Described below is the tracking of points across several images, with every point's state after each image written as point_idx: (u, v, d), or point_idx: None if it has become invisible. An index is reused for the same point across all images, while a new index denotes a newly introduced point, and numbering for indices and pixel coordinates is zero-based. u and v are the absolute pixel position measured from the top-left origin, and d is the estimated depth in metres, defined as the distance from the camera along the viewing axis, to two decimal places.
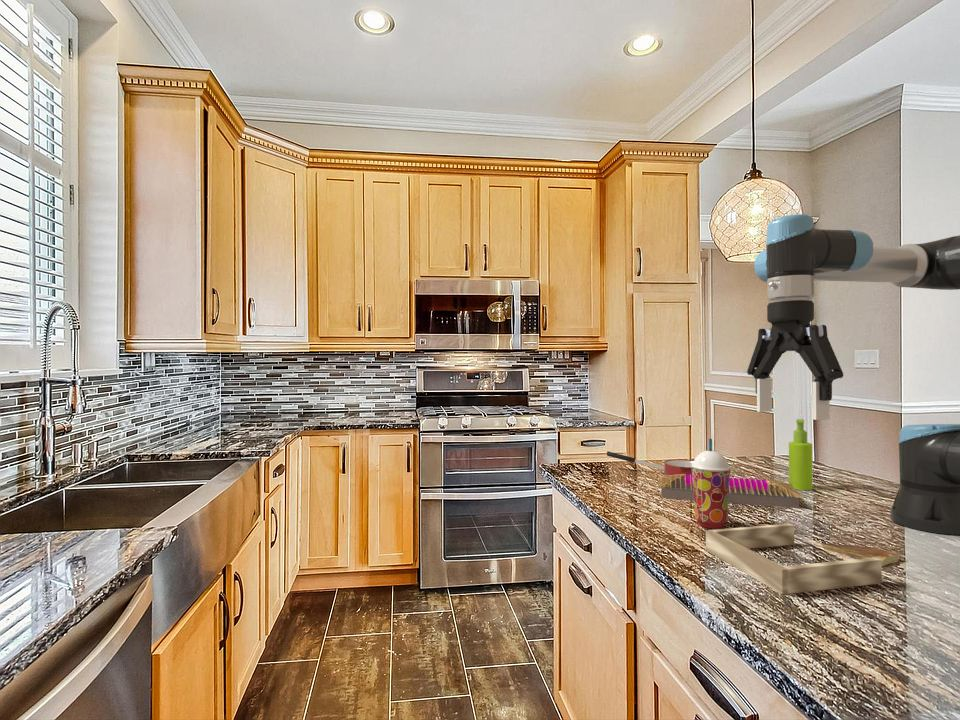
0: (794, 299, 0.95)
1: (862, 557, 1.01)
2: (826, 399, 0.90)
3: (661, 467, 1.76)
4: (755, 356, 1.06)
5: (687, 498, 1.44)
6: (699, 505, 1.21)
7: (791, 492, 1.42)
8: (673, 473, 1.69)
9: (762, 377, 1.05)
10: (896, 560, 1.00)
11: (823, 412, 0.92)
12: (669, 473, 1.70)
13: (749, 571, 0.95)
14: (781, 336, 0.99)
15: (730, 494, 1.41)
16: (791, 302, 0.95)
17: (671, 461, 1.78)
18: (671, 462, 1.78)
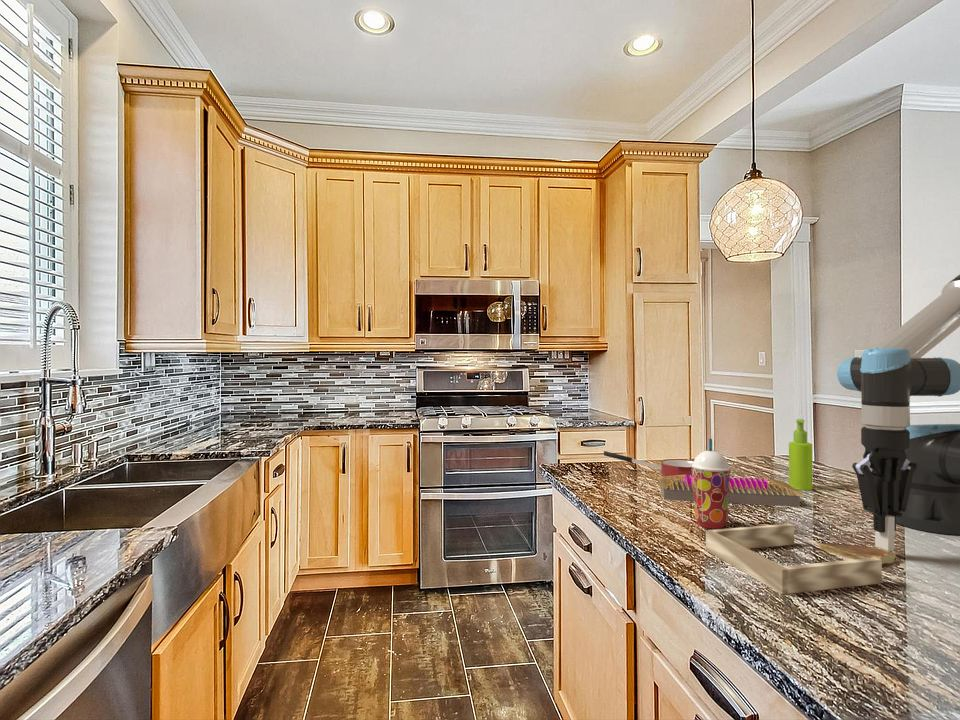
0: (866, 426, 1.04)
1: (857, 556, 1.00)
2: (876, 530, 1.03)
3: (658, 467, 1.76)
4: None
5: (690, 499, 1.43)
6: (699, 505, 1.21)
7: (789, 490, 1.44)
8: (670, 473, 1.69)
9: None
10: (892, 560, 1.00)
11: (882, 542, 1.03)
12: (666, 473, 1.71)
13: (749, 571, 0.95)
14: None
15: (732, 494, 1.41)
16: (861, 429, 1.05)
17: (668, 461, 1.78)
18: (668, 462, 1.78)
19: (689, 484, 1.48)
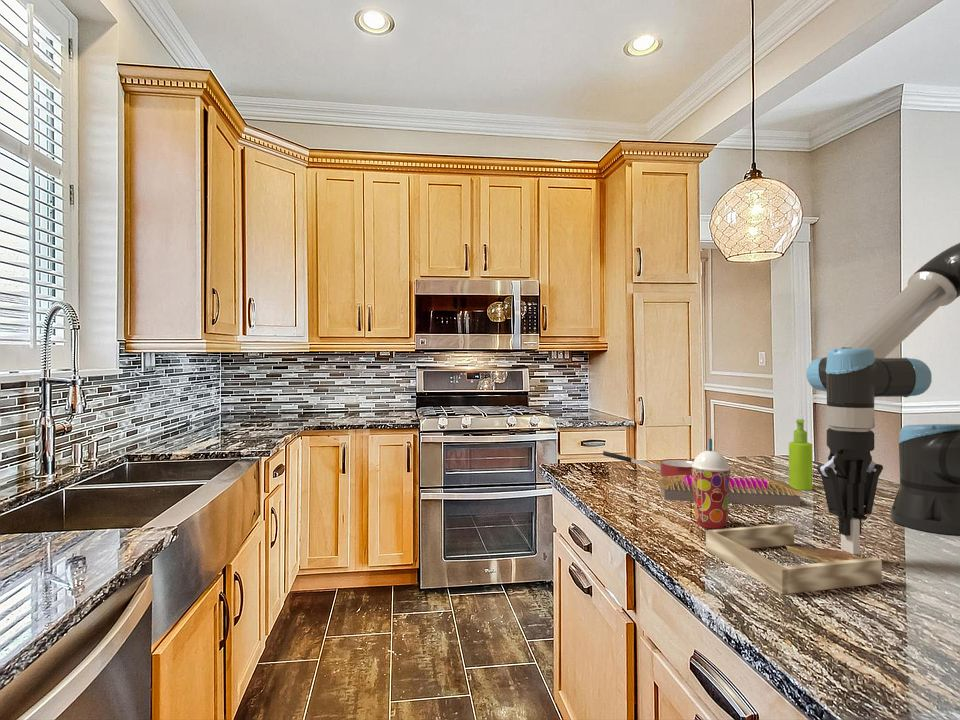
0: (831, 428, 1.02)
1: (821, 559, 0.99)
2: (841, 533, 1.01)
3: (657, 467, 1.76)
4: None
5: (690, 499, 1.43)
6: (699, 505, 1.21)
7: (789, 490, 1.44)
8: (669, 473, 1.69)
9: None
10: None
11: (847, 545, 1.01)
12: (665, 473, 1.71)
13: (749, 571, 0.95)
14: None
15: (733, 494, 1.41)
16: (827, 430, 1.03)
17: (667, 461, 1.78)
18: (667, 462, 1.78)
19: (689, 484, 1.47)
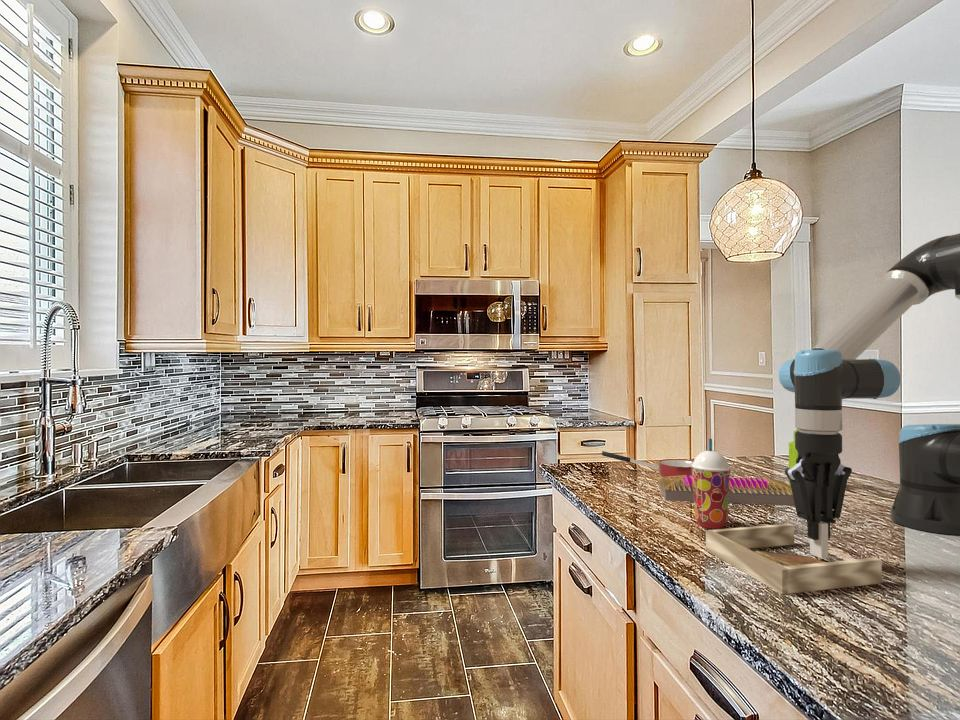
0: (799, 430, 1.01)
1: (789, 565, 0.97)
2: (809, 537, 1.00)
3: (656, 467, 1.76)
4: None
5: (691, 500, 1.43)
6: (699, 505, 1.21)
7: (788, 490, 1.44)
8: (668, 473, 1.69)
9: (820, 517, 1.00)
10: None
11: (816, 549, 1.00)
12: (664, 473, 1.71)
13: (749, 571, 0.95)
14: None
15: (734, 494, 1.41)
16: (795, 433, 1.02)
17: (666, 461, 1.79)
18: (666, 462, 1.78)
19: (690, 484, 1.47)
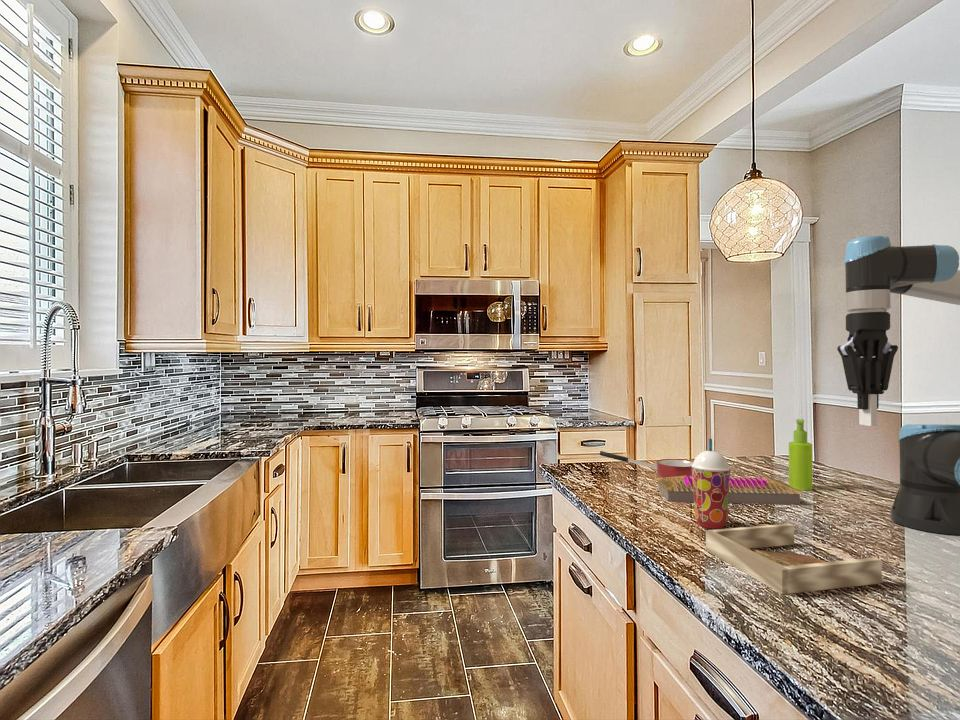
0: (850, 312, 1.11)
1: (789, 565, 0.97)
2: (859, 408, 1.11)
3: (654, 466, 1.76)
4: None
5: None
6: (699, 505, 1.21)
7: None
8: (666, 472, 1.70)
9: (869, 390, 1.11)
10: None
11: (865, 419, 1.10)
12: (662, 472, 1.71)
13: (749, 571, 0.95)
14: None
15: (735, 494, 1.41)
16: None
17: (664, 460, 1.79)
18: (664, 461, 1.79)
19: (691, 485, 1.47)
